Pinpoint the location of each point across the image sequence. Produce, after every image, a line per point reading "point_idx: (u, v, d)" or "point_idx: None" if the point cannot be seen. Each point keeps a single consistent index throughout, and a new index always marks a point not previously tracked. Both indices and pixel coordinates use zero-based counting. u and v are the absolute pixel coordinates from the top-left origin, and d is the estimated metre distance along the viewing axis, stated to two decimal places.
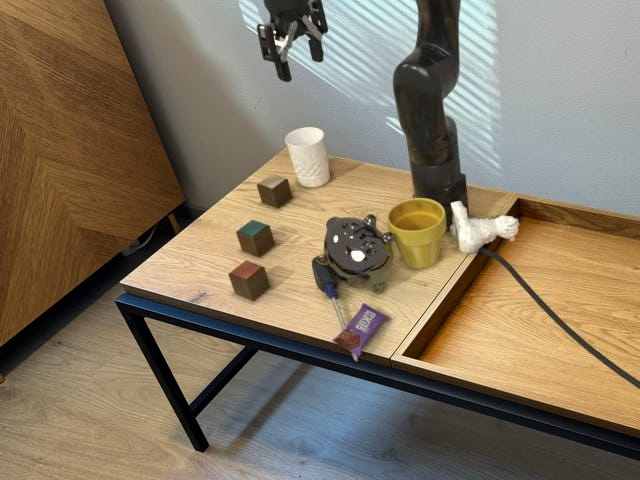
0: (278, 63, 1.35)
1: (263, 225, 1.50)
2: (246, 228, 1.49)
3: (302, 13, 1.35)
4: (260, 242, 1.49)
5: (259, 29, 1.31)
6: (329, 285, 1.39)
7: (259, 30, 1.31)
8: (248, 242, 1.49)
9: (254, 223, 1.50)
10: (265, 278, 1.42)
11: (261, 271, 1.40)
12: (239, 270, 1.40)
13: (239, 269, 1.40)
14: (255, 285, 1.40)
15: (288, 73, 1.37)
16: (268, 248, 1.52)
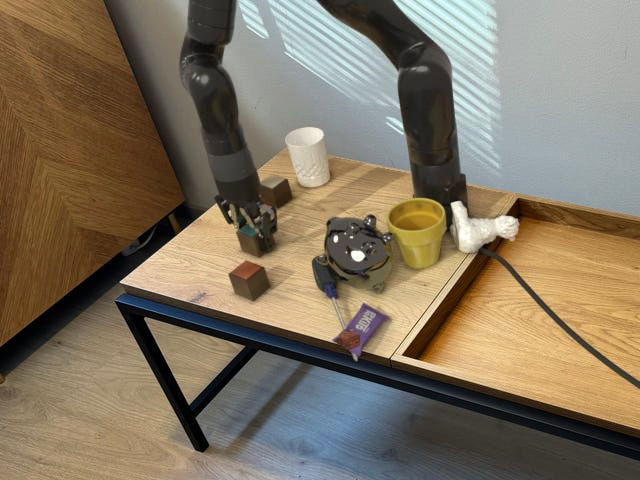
0: None
1: None
2: (246, 228, 1.49)
3: None
4: None
5: (269, 216, 1.43)
6: (329, 285, 1.39)
7: (269, 217, 1.43)
8: (248, 242, 1.49)
9: None
10: (265, 278, 1.42)
11: (261, 271, 1.40)
12: (239, 270, 1.40)
13: (239, 269, 1.40)
14: (255, 285, 1.40)
15: None
16: None
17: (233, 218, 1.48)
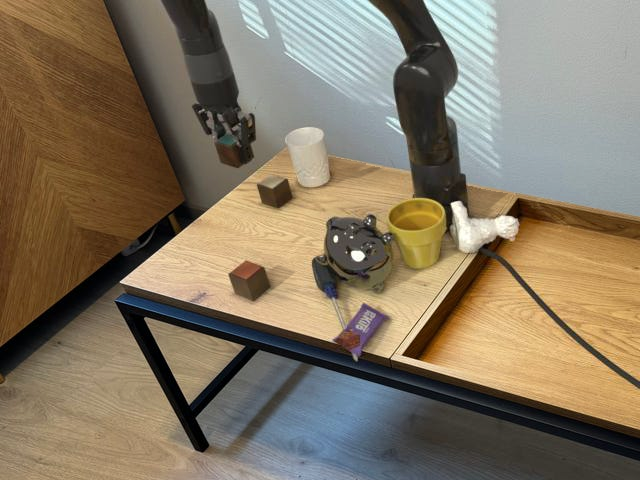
0: (247, 145, 1.47)
1: None
2: (225, 138, 1.48)
3: None
4: None
5: (247, 122, 1.41)
6: (329, 285, 1.39)
7: (247, 123, 1.41)
8: (226, 152, 1.47)
9: None
10: (265, 278, 1.42)
11: (261, 271, 1.40)
12: (239, 270, 1.40)
13: (239, 269, 1.40)
14: (255, 285, 1.40)
15: None
16: None
17: (211, 127, 1.46)
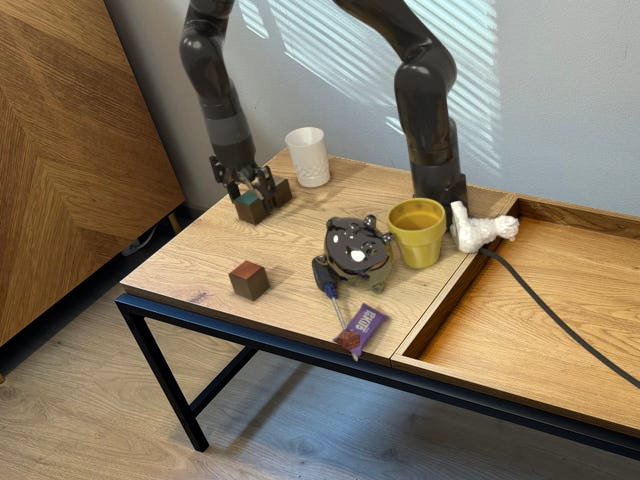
0: (269, 197, 1.54)
1: None
2: (243, 197, 1.57)
3: None
4: (256, 210, 1.57)
5: (263, 173, 1.48)
6: (329, 285, 1.39)
7: (263, 174, 1.48)
8: (245, 210, 1.57)
9: (251, 192, 1.58)
10: (265, 278, 1.42)
11: (261, 271, 1.40)
12: (239, 270, 1.40)
13: (239, 269, 1.40)
14: (255, 285, 1.40)
15: None
16: (264, 217, 1.59)
17: (225, 179, 1.54)
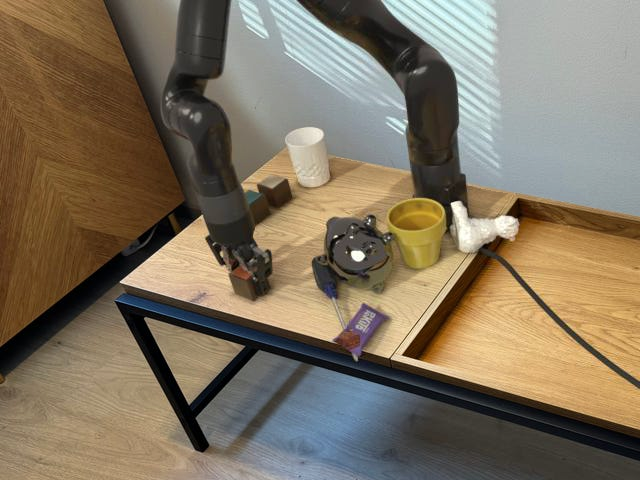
0: None
1: (259, 194, 1.57)
2: None
3: None
4: (256, 210, 1.57)
5: (264, 259, 1.33)
6: (329, 285, 1.39)
7: (264, 260, 1.34)
8: None
9: (251, 192, 1.58)
10: None
11: None
12: (239, 270, 1.40)
13: (239, 269, 1.40)
14: None
15: None
16: (264, 217, 1.59)
17: (225, 260, 1.38)
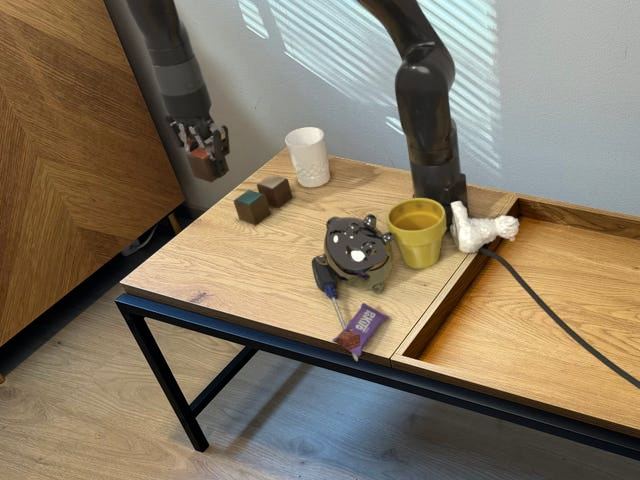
0: (221, 158, 1.42)
1: (259, 194, 1.57)
2: (243, 197, 1.57)
3: None
4: (256, 210, 1.57)
5: (220, 134, 1.36)
6: (329, 285, 1.39)
7: (220, 135, 1.36)
8: (245, 210, 1.57)
9: (251, 192, 1.58)
10: None
11: None
12: (197, 151, 1.42)
13: (197, 150, 1.43)
14: None
15: None
16: (264, 217, 1.59)
17: (183, 139, 1.41)
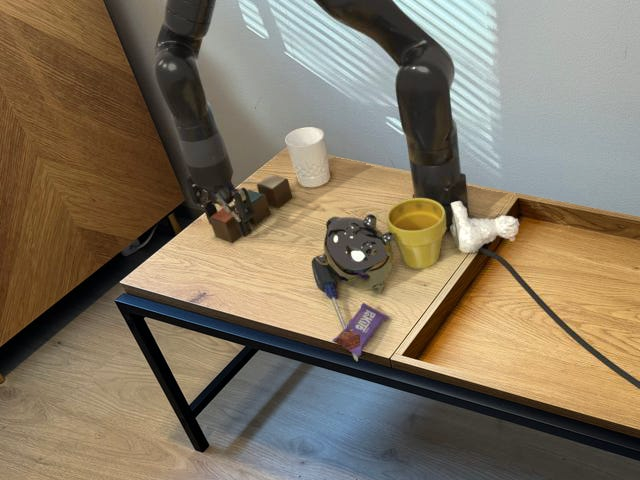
0: (246, 219, 1.51)
1: (259, 194, 1.57)
2: None
3: None
4: (256, 210, 1.57)
5: (240, 195, 1.46)
6: (329, 285, 1.39)
7: (240, 196, 1.46)
8: None
9: (251, 192, 1.58)
10: None
11: None
12: (219, 214, 1.53)
13: (219, 213, 1.53)
14: (234, 228, 1.53)
15: None
16: (264, 217, 1.59)
17: (202, 200, 1.51)
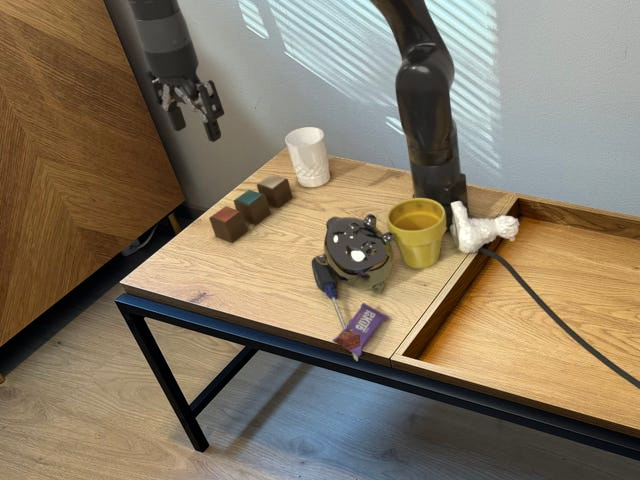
0: (215, 120, 1.32)
1: (259, 194, 1.57)
2: (243, 197, 1.57)
3: None
4: (256, 210, 1.57)
5: (206, 88, 1.26)
6: (329, 285, 1.39)
7: (206, 90, 1.26)
8: (245, 210, 1.57)
9: (251, 192, 1.58)
10: (243, 222, 1.55)
11: (239, 215, 1.53)
12: (219, 214, 1.53)
13: (219, 213, 1.53)
14: (234, 228, 1.53)
15: None
16: (264, 217, 1.59)
17: (164, 99, 1.32)
